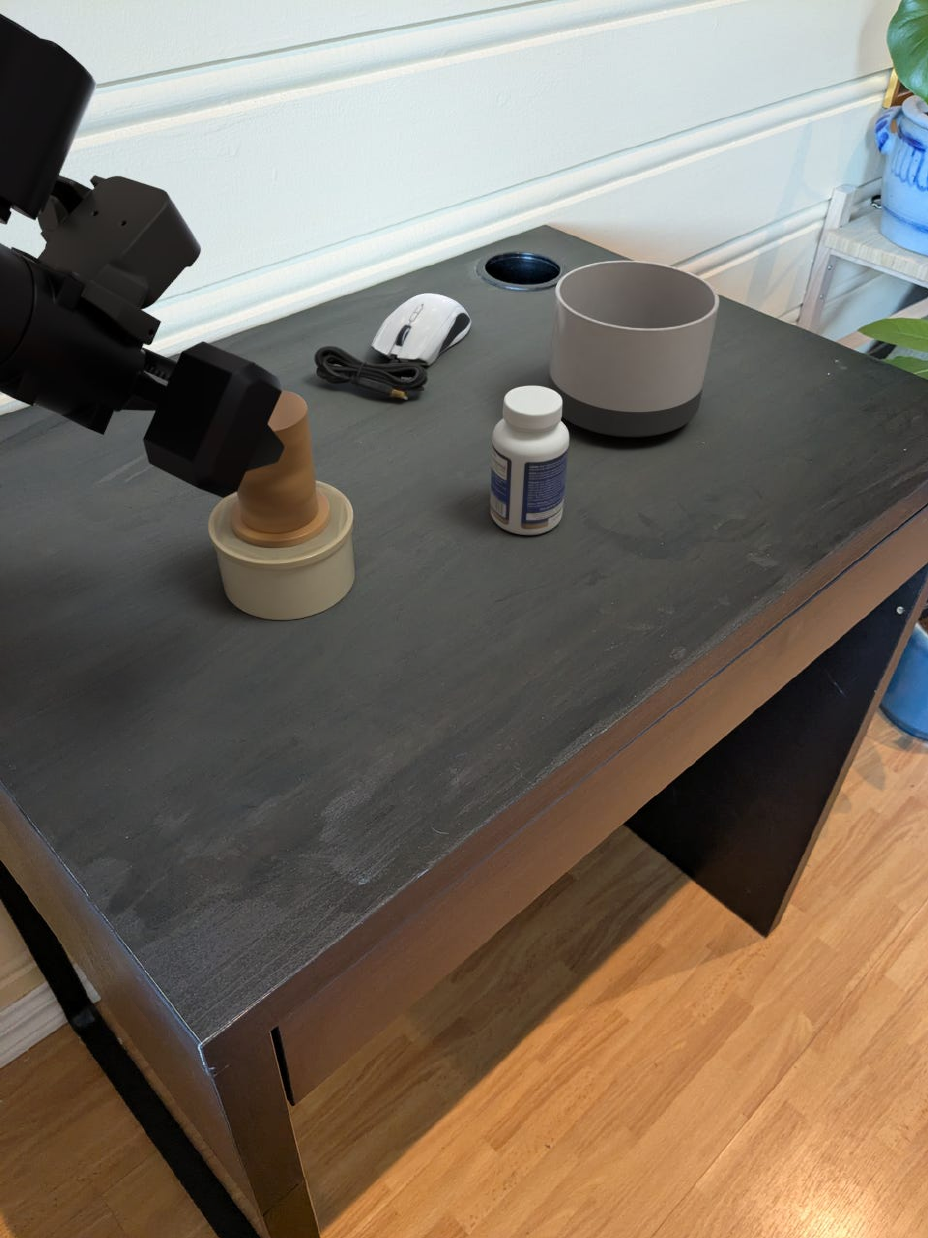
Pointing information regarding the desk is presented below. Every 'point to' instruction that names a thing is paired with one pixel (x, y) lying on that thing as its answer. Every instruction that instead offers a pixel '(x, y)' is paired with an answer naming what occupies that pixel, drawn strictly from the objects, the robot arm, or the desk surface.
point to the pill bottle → (529, 461)
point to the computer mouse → (400, 347)
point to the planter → (631, 346)
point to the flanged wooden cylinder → (283, 486)
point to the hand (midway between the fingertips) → (221, 426)
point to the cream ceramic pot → (286, 564)
